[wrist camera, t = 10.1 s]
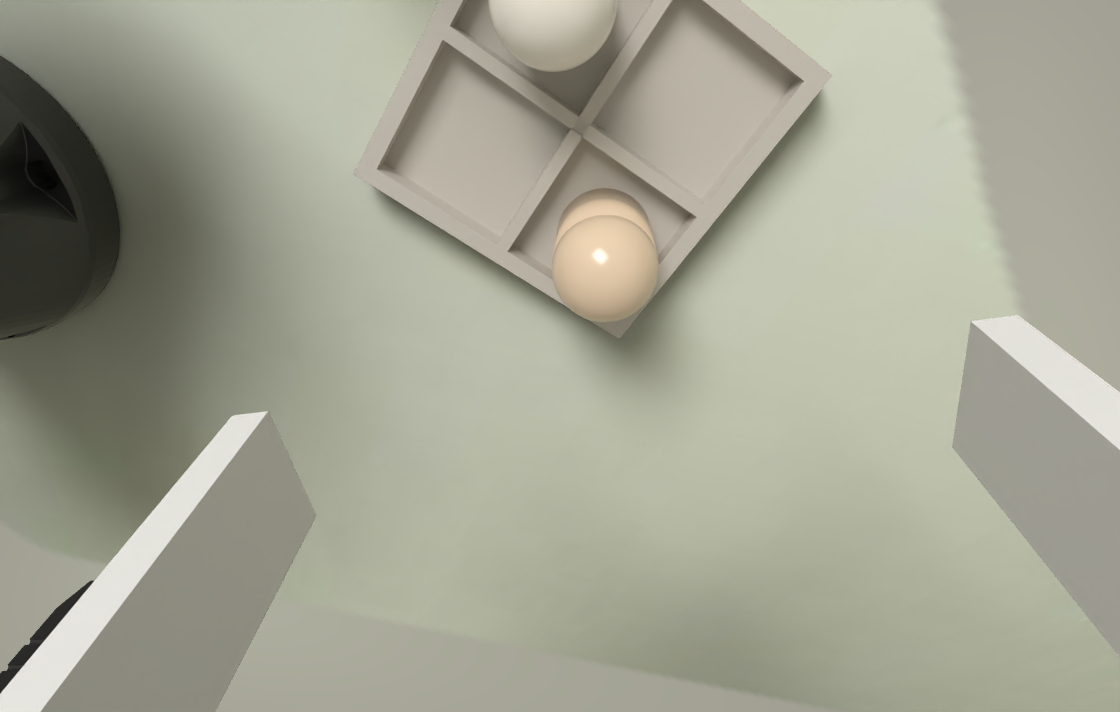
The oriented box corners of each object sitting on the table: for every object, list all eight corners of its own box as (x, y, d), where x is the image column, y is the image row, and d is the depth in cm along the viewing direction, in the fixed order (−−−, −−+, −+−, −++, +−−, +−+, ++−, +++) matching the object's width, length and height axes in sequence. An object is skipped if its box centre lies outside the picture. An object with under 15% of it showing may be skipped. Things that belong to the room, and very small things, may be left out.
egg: (539, 246, 33) (526, 303, 27) (592, 168, 31) (591, 211, 25) (614, 295, 34) (618, 360, 28) (670, 223, 32) (687, 276, 26)
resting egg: (483, 18, 28) (453, 24, 22) (542, -92, 26) (526, -118, 20) (573, 82, 29) (568, 106, 23) (636, -18, 27) (648, -21, 21)
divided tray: (366, 163, 32) (353, 173, 30) (530, -163, 25) (525, -175, 24) (618, 322, 35) (619, 339, 33) (818, 70, 29) (832, 75, 27)
